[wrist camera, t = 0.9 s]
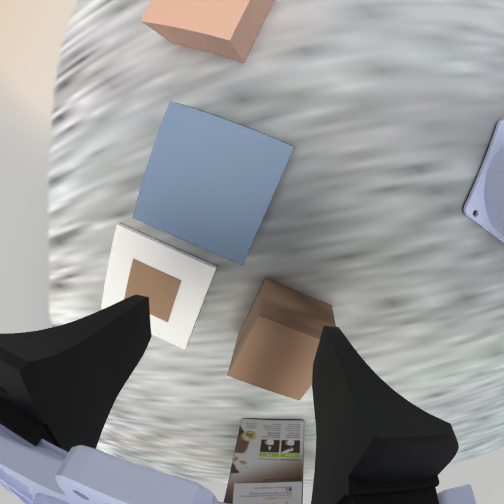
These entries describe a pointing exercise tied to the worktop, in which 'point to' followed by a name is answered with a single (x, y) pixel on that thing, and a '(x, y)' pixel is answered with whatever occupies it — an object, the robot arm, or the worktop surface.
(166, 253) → the card
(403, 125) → the worktop surface
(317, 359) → the robot arm
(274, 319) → the walnut block
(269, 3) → the peach block
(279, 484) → the coffee box
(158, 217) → the blue block
